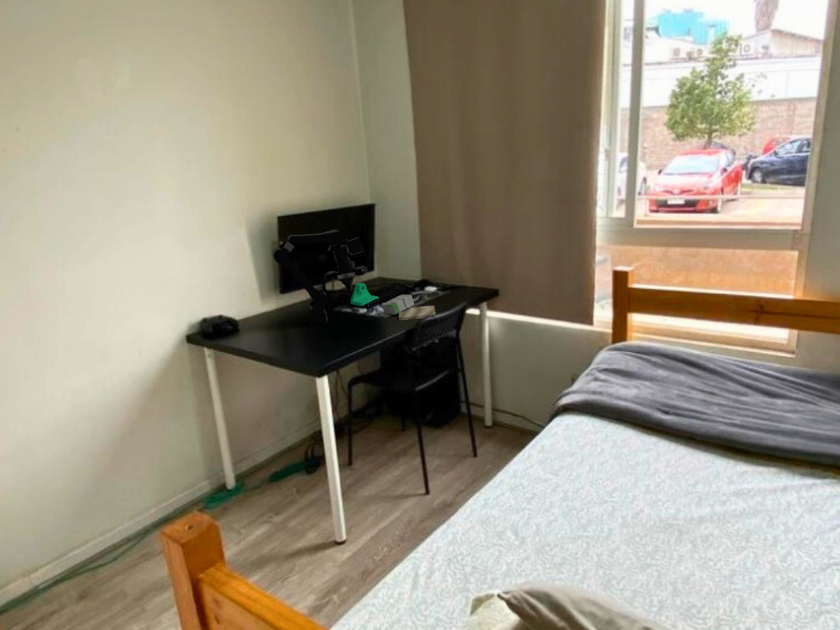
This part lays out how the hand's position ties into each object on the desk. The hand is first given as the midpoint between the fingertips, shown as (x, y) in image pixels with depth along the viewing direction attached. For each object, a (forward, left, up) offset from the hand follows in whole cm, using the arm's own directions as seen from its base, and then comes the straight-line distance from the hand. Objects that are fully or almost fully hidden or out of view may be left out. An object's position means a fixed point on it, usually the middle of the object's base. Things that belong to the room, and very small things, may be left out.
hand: (350, 291), depth 252 cm
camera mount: (+4, +21, -12) cm, 24 cm away
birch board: (+29, -5, -12) cm, 32 cm away
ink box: (+16, -4, -9) cm, 19 cm away
